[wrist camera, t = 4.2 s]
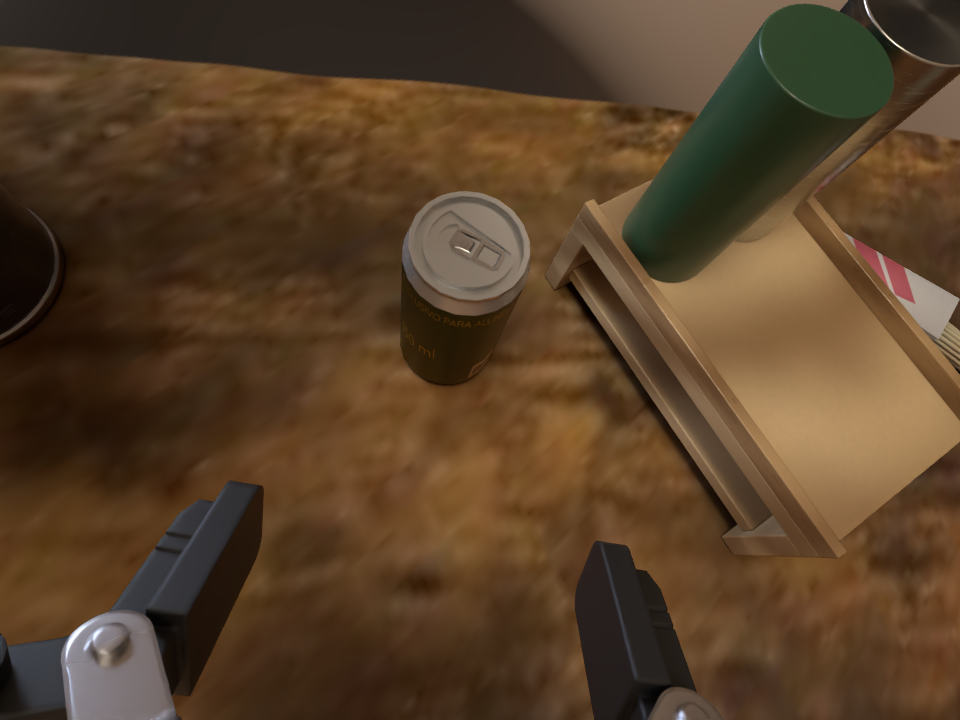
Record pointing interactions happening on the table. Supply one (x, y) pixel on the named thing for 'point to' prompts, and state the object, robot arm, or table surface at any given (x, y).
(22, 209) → the robot arm
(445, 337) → the beer can
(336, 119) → the table surface
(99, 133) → the table surface
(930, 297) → the paintbrush
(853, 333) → the tray
